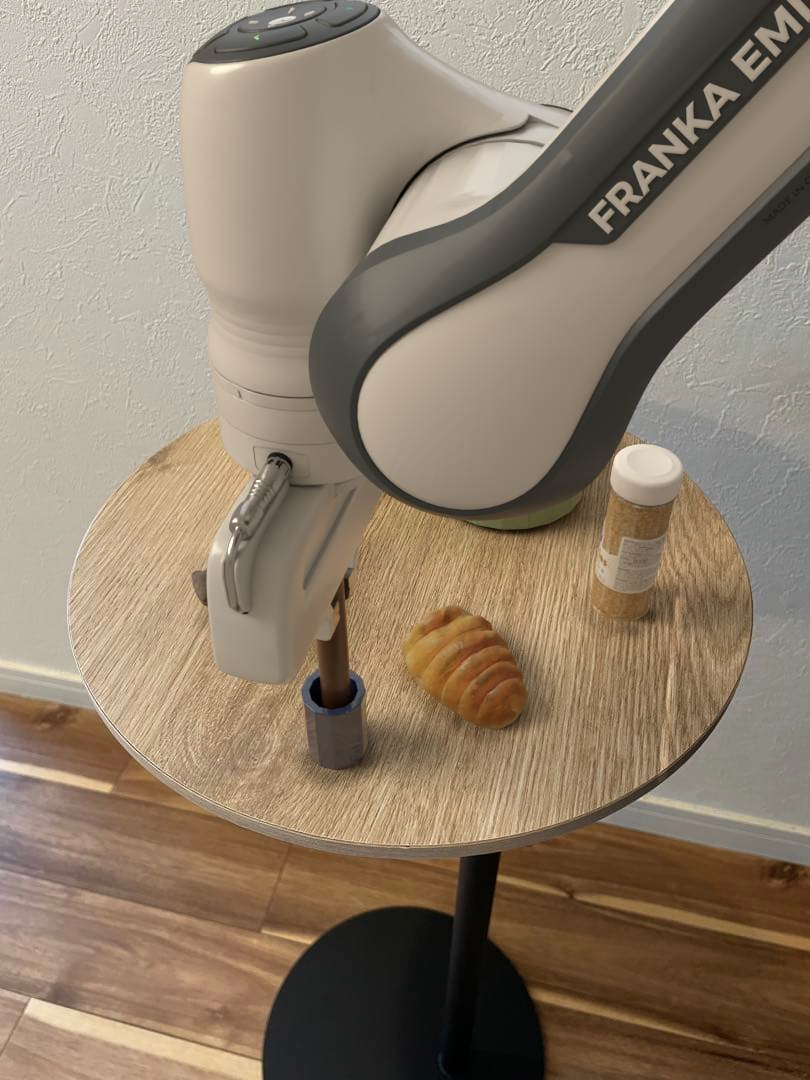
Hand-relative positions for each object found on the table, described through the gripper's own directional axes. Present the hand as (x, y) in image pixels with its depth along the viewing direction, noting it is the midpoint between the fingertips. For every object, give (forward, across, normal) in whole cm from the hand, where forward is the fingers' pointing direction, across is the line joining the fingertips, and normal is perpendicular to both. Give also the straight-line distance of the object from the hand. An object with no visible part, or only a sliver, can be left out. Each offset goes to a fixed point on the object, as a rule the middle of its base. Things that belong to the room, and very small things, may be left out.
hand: (330, 609), depth 54 cm
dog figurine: (+13, +11, +11) cm, 21 cm away
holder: (+13, 0, 0) cm, 13 cm away
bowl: (+13, +30, -5) cm, 33 cm away
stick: (+11, 0, 0) cm, 11 cm away
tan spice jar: (+13, +18, -16) cm, 27 cm away
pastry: (+13, +8, -6) cm, 17 cm away
